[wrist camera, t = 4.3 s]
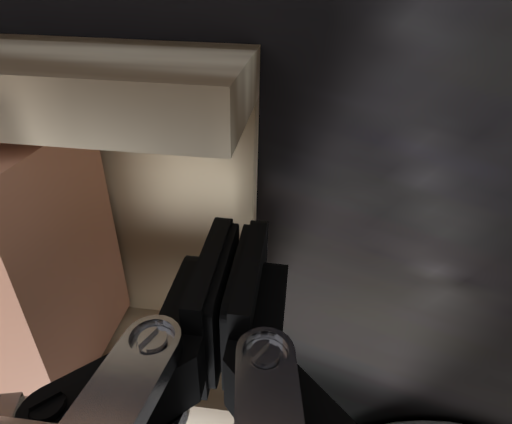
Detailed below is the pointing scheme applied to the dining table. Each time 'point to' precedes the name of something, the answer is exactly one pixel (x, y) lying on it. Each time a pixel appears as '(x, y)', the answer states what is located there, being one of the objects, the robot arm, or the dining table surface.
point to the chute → (146, 144)
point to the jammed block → (55, 264)
